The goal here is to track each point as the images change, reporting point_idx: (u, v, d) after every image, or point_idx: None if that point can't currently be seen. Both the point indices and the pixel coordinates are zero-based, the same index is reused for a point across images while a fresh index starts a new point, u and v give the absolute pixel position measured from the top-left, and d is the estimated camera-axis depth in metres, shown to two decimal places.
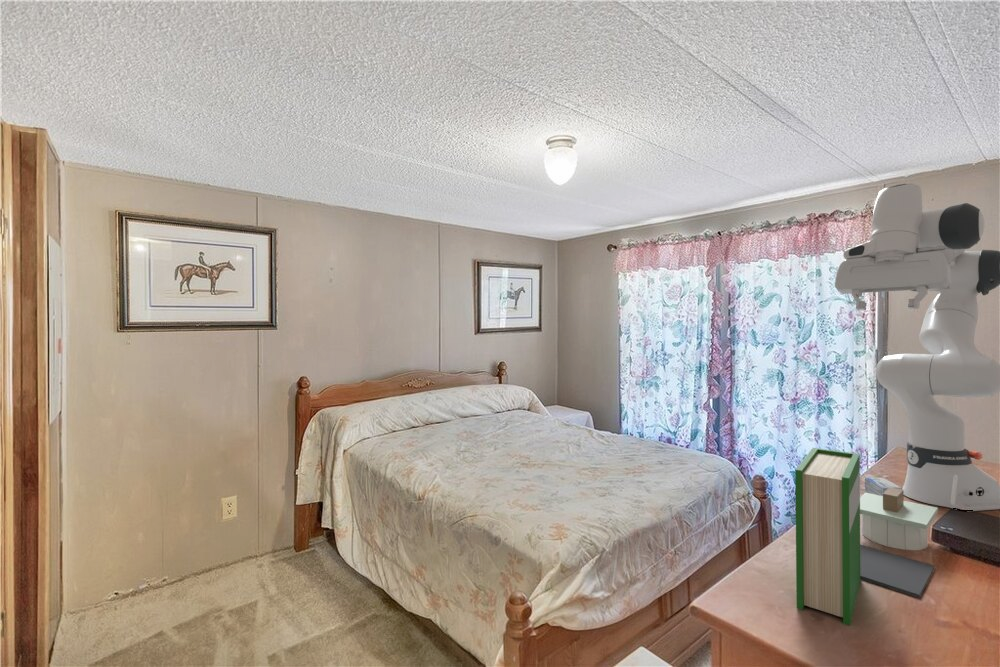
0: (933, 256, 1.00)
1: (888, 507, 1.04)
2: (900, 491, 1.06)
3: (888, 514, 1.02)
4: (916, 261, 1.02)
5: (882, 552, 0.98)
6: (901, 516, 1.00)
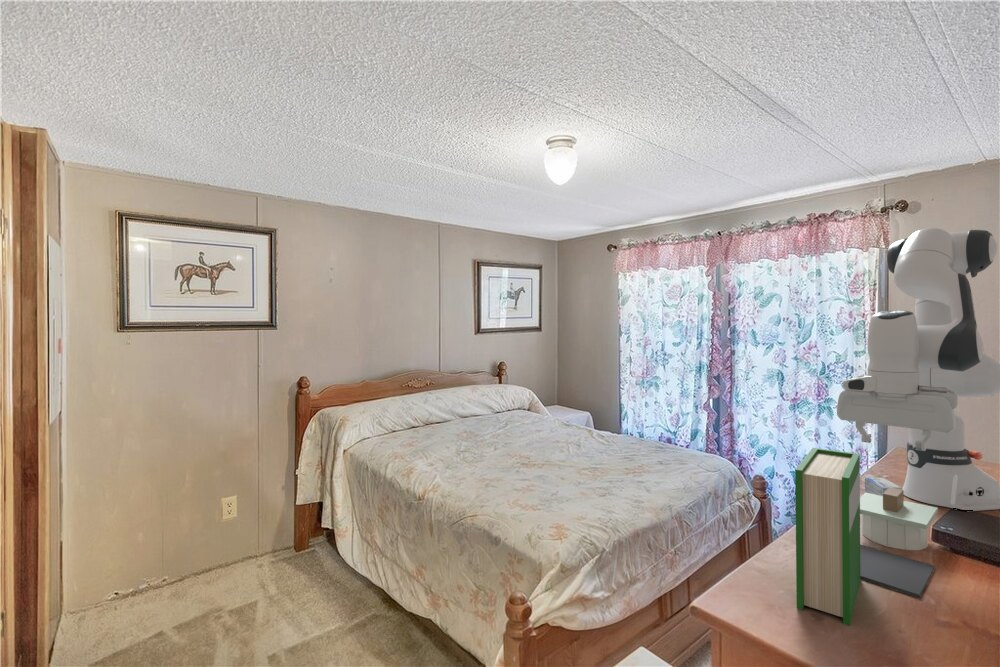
0: (937, 402, 0.98)
1: (888, 507, 1.04)
2: (900, 491, 1.06)
3: (888, 514, 1.02)
4: (920, 404, 1.00)
5: (882, 552, 0.98)
6: (901, 516, 1.00)
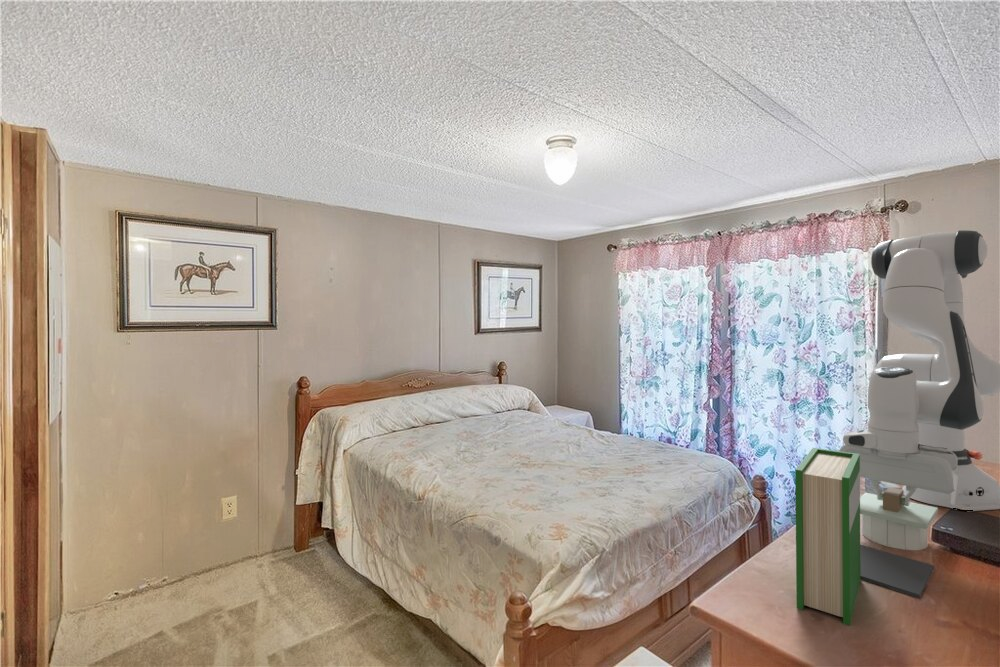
0: (937, 463, 0.98)
1: (888, 507, 1.04)
2: (900, 491, 1.06)
3: (888, 514, 1.02)
4: (920, 463, 1.01)
5: (882, 552, 0.98)
6: (901, 516, 1.00)
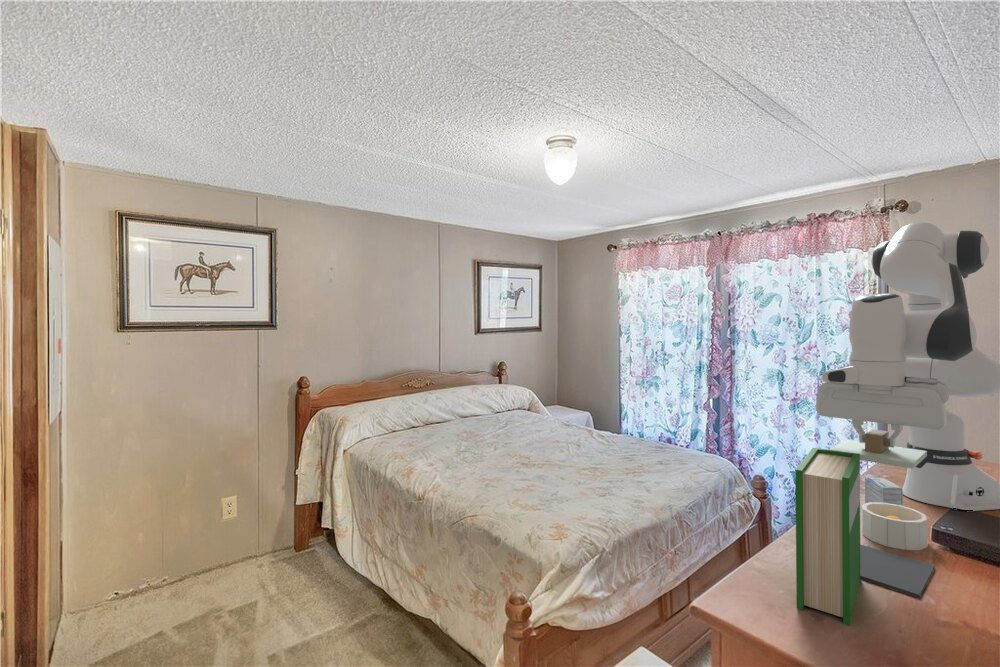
0: (926, 395, 0.87)
1: (871, 449, 0.92)
2: (885, 432, 0.94)
3: (870, 455, 0.90)
4: (906, 397, 0.89)
5: (882, 552, 0.98)
6: (884, 457, 0.89)
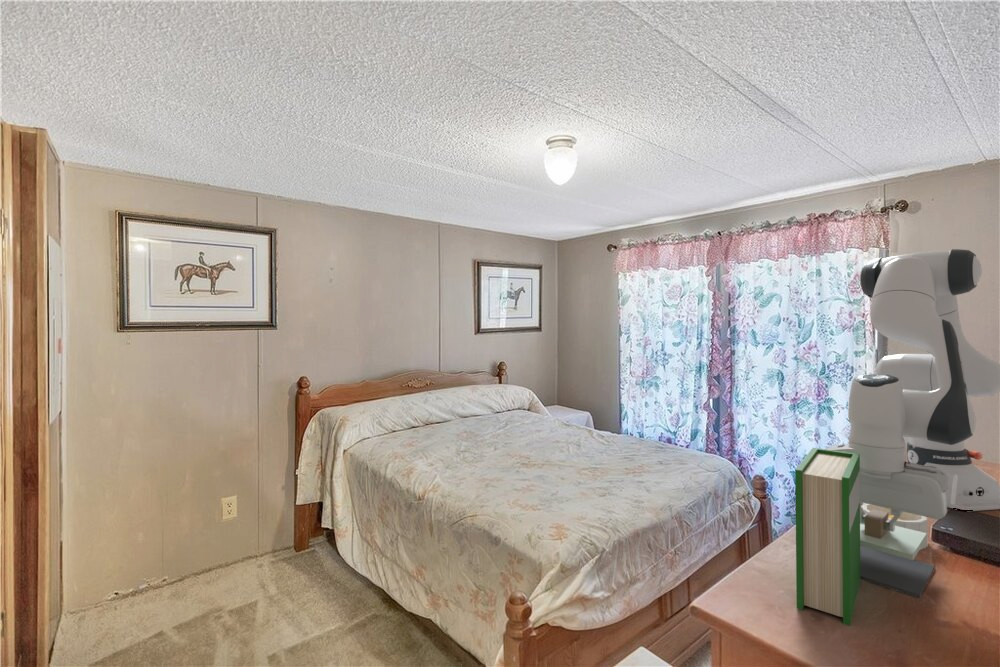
0: (926, 484, 0.86)
1: (870, 532, 0.92)
2: (884, 514, 0.94)
3: (870, 541, 0.90)
4: (906, 484, 0.89)
5: (882, 552, 0.98)
6: (884, 544, 0.88)
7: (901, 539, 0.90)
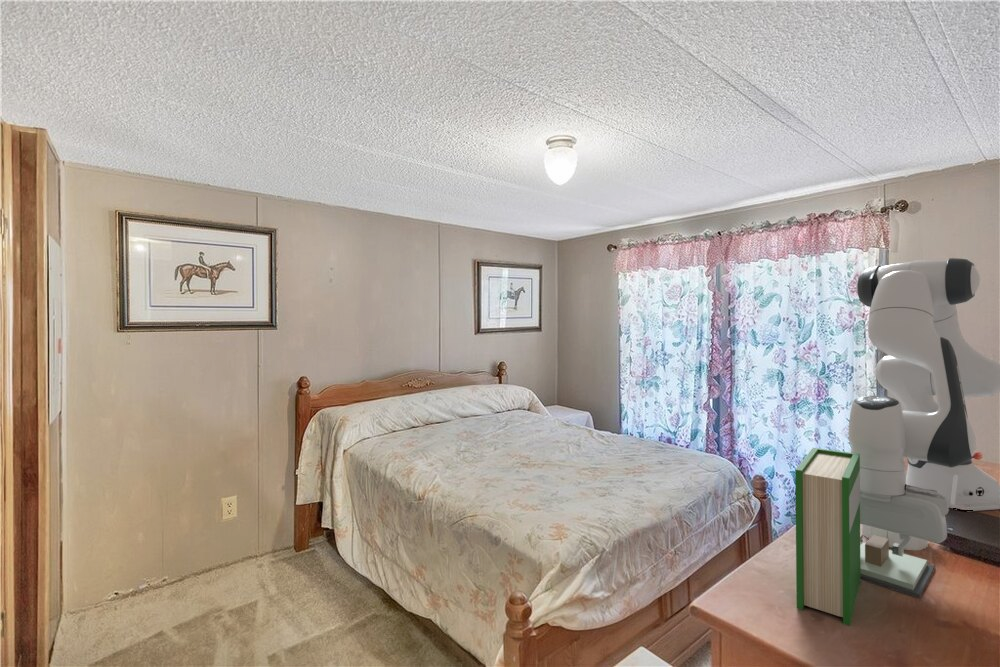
0: (926, 508, 0.86)
1: (871, 560, 0.92)
2: (885, 541, 0.94)
3: (870, 569, 0.90)
4: (906, 507, 0.89)
5: None
6: (885, 572, 0.89)
7: (901, 567, 0.91)
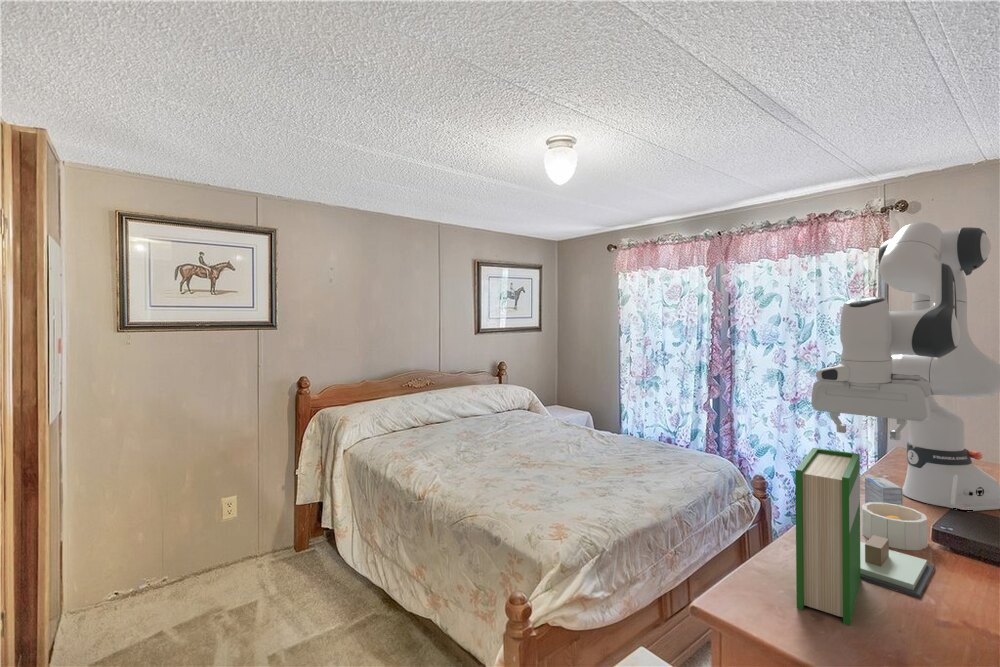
0: (910, 391, 0.96)
1: (871, 560, 0.92)
2: (885, 541, 0.94)
3: (870, 569, 0.90)
4: (893, 393, 0.98)
5: None
6: (885, 572, 0.89)
7: (901, 567, 0.91)
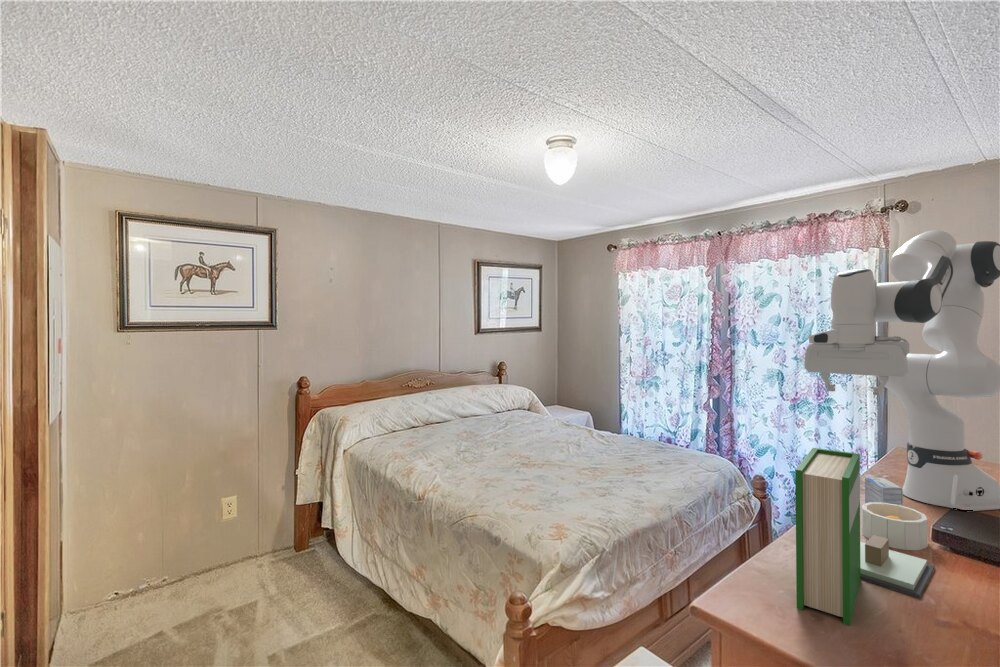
0: (891, 350, 1.08)
1: (871, 560, 0.92)
2: (885, 541, 0.94)
3: (870, 569, 0.90)
4: (876, 352, 1.10)
5: None
6: (885, 572, 0.89)
7: (901, 567, 0.91)
